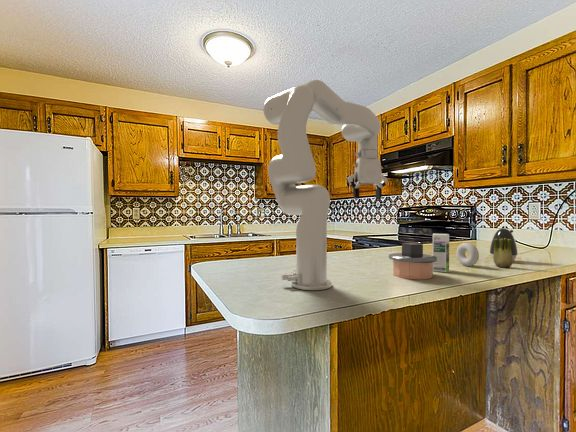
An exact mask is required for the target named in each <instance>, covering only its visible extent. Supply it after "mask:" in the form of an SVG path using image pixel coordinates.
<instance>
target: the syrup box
mask: <svg viewBox="0 0 576 432" xmlns="http://www.w3.org/2000/svg"><path fill="white" fill-rule="evenodd" d="M432 256H435V257H437V261H436V262H433V272H438V273H439V272H440V273H448V274H449V273H450V234H449V233H432Z"/></svg>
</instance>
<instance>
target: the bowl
mask: <svg viewBox="0 0 576 432" xmlns="http://www.w3.org/2000/svg"><path fill="white" fill-rule="evenodd" d="M392 273H393V276H394V277H397V278H401V279H408V280H418V281H419V280H421V281H422V280H429V279H432V278H433V275H434V271H433V262H431V263H412V262H402V261H395V260H392Z"/></svg>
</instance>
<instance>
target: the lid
mask: <svg viewBox="0 0 576 432" xmlns="http://www.w3.org/2000/svg"><path fill="white" fill-rule="evenodd" d="M388 259H389V260H392V261H393V260H395V261H402V262H412V263H431V262H436V261H437V257H435V256H433V254H431V255H430V254H425V253H424V244H422V243H418V242H417V243H416V242H402V243H401V252H394V253H390V254H388Z"/></svg>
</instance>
